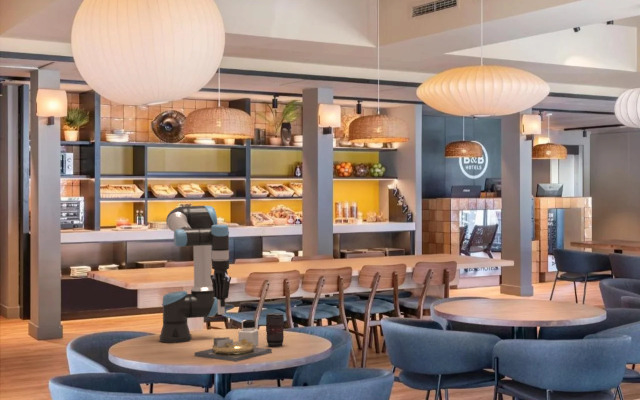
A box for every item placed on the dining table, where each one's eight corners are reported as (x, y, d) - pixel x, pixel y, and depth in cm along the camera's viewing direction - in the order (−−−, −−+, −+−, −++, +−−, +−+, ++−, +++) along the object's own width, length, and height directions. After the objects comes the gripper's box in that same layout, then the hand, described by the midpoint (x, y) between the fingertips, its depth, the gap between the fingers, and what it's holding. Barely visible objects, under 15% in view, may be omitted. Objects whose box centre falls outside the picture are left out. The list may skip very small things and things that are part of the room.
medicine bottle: (258, 344, 428) (258, 319, 428) (252, 347, 421) (252, 321, 421) (244, 344, 430) (244, 318, 430) (238, 346, 424) (238, 320, 423)
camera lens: (281, 347, 420) (281, 315, 419) (264, 347, 421) (264, 314, 421) (285, 344, 427) (285, 312, 427) (269, 344, 429) (268, 312, 429)
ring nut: (247, 345, 416) (247, 333, 416) (258, 352, 400) (258, 339, 399) (208, 348, 410) (208, 336, 410) (218, 355, 393) (218, 342, 393)
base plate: (194, 355, 402) (194, 352, 402) (230, 347, 422) (230, 343, 422) (236, 361, 388) (236, 357, 388) (271, 352, 408) (271, 348, 408)
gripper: (236, 260, 398) (236, 314, 398) (219, 258, 408) (220, 311, 408) (221, 261, 393) (222, 316, 393) (205, 259, 403) (205, 313, 404)
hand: (221, 314), depth 401 cm, fingers closed
